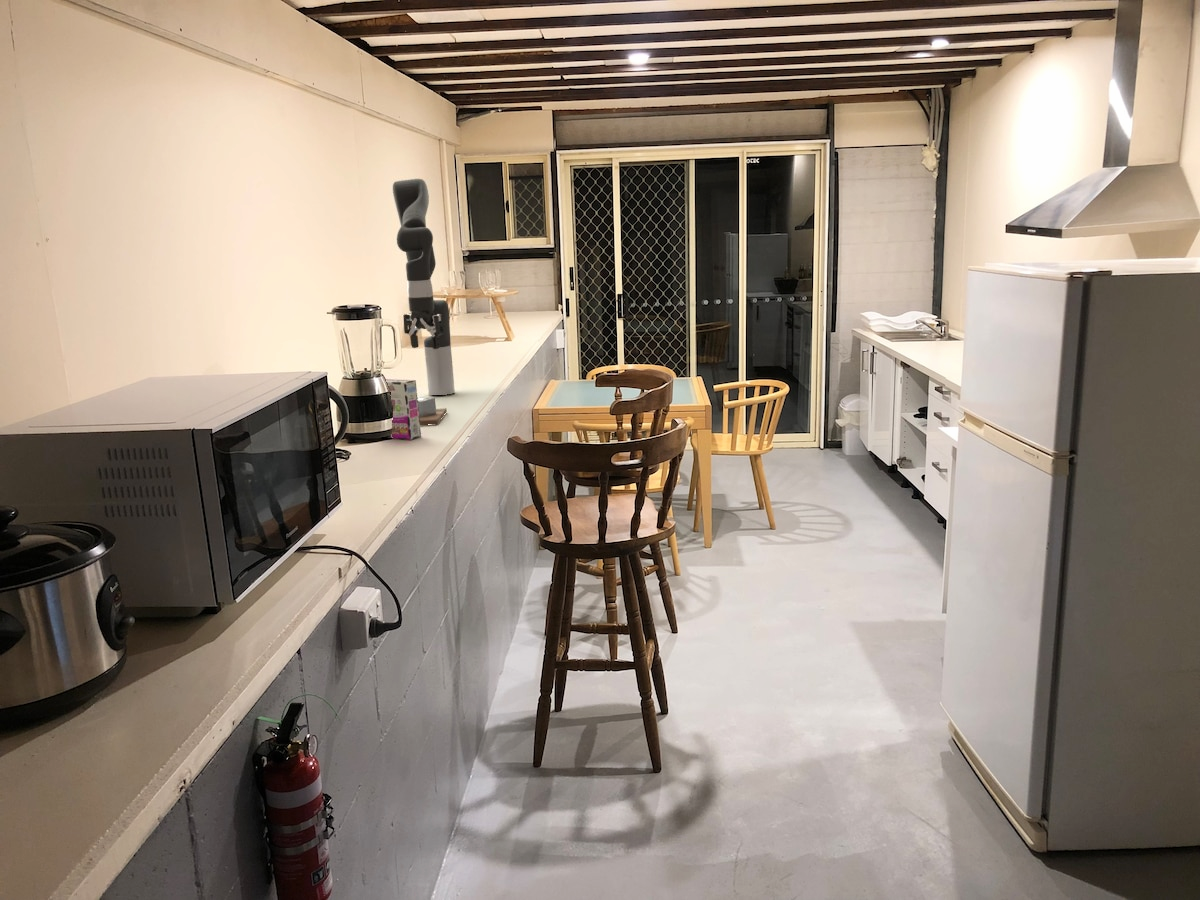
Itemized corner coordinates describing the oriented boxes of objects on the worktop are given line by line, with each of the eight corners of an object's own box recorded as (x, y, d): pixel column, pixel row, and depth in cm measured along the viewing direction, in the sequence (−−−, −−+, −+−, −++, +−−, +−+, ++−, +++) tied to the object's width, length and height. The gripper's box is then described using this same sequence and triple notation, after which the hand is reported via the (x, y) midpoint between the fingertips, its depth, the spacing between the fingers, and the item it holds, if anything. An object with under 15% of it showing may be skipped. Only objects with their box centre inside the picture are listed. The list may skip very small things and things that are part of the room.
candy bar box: (422, 436, 256) (416, 379, 252) (410, 440, 251) (405, 382, 248) (391, 434, 261) (385, 378, 257) (380, 438, 257) (374, 381, 253)
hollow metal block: (408, 416, 278) (406, 400, 277) (421, 412, 283) (420, 396, 282) (423, 417, 275) (421, 401, 274) (436, 413, 280) (434, 397, 278)
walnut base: (409, 414, 288) (409, 410, 287) (446, 412, 288) (446, 408, 287) (397, 426, 270) (397, 421, 270) (437, 424, 270) (437, 420, 270)
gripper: (394, 296, 274) (400, 349, 278) (429, 296, 267) (434, 351, 271) (411, 293, 280) (417, 345, 284) (446, 294, 273) (451, 347, 277)
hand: (425, 348), depth 277 cm, fingers open, 8 cm apart
